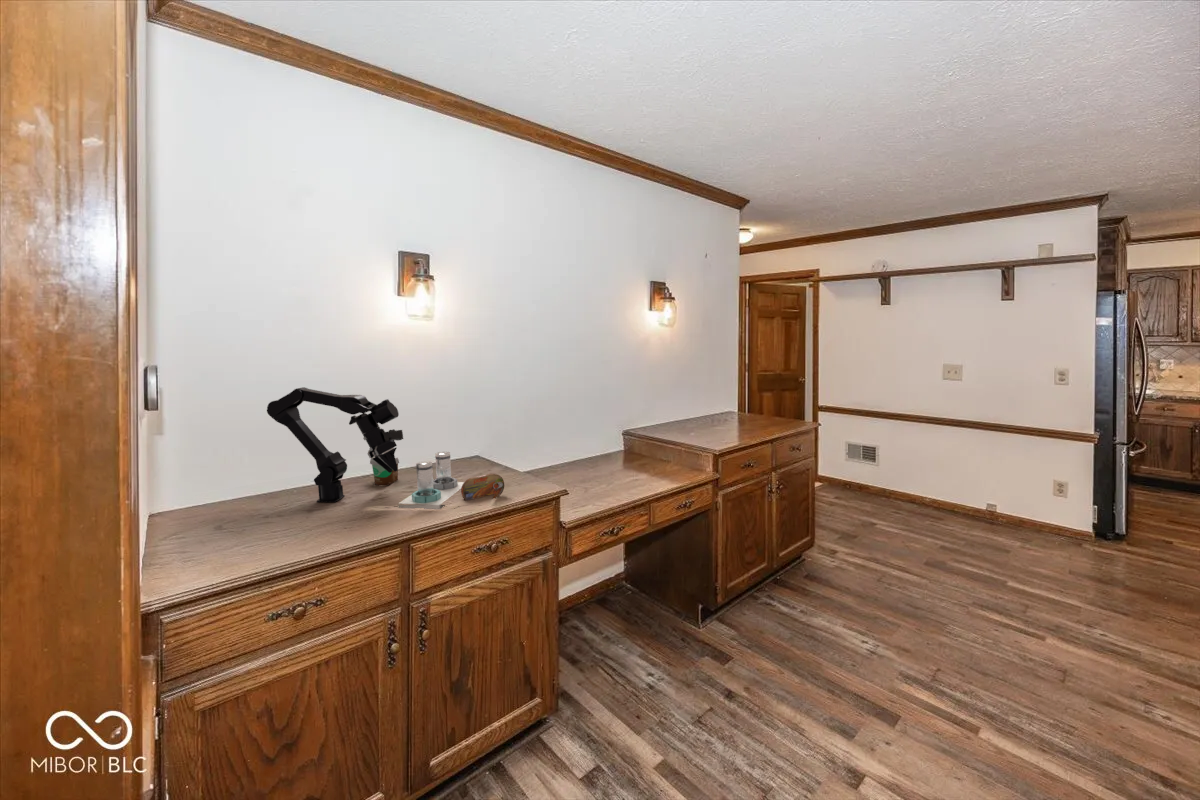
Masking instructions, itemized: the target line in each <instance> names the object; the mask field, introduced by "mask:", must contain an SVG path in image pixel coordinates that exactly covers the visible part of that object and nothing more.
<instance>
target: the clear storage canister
mask: <svg viewBox="0 0 1200 800" xmlns="http://www.w3.org/2000/svg"><path fill="white" fill-rule="evenodd" d="M415 469H416V481H417V483H416V484H417V491H418V496H429V495H434V485H433V480H434V472H433V469H434V468H433V462H432V461H429V460H427V461H418V462H417V463H415Z"/></svg>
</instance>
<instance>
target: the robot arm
mask: <svg viewBox="0 0 1200 800" xmlns="http://www.w3.org/2000/svg"><path fill="white" fill-rule="evenodd" d="M304 402H306V403H307V402H308V403H313V404H318V405H323V406H326V407H327V406H328V407H333V408H336V409H338V410H340V412H343V413H346V414H349V415H351V416H350V420H349V422H348V424H349V425H350V426H351V425H353V424H356V426H357V427H358V429H359V430H360V433H361V434H362V436H363V440H364V441H365V442H366V443H367V445H368V447H369V449H368V450H367V456H368V458H369V459H371V458H372V457H374V458H373V459H372V460H373V461H374V462H376V463H377V464H379V465H380V466H381V467H383V468H384V469H385V470H386V471H388V472H389V473H391V472H392V470H394V471H397V470H398V471H399V467H398V468H397V464H396V460H395V458H396V456H395V453H396V451H397V446H398V445H397V443H396V441H402V440H404V434H403V429H398V430H397V429H396V430H395V429H388V431H385V430H384V428H381V426H380V425H385V424H386V423H388V422H390V421H392V420H394V419H397V418H398V417H399V410H398V408H397V406H396V405H394V403H392V402H391V401H390V400H389V398H388V399H384V400H382V401H381V402H380V403H377V404H375V403H374V402H372V401H370V400H368V399H367V397H366V396H365V395H362V394H338V393H332V392H326V391H322V390H316V389H311V388H308V387H299V388H294V389H293V390H292V391H291V392H289V393H287V394H286V395H284V396H282V397H281V398H279V399H277V400H272V401H269V403H268V405H267V407H266V413H267V414H268V415H269V416H270V418H272V419H273V420H274V421H275V422H276V423H279V424H280V425H283V426H284V427H286V428H287V429H288V430H289V431H290V432H291V433H292V435H293V436H294V437H295V438H296V439H297V440H298V441H299V443H300V444H301V445H302V446H303V447H304V448H305V450H306V451H308V453H309V454H310V455H311V456H312V457H313V459H314V460H315V463H316V467H317V470H318V472H319V473H318V474H317V476H316V477H315V478H314V479H313V482H314V484H315V486H317V488H318V491H317V492H318V499H317V500H316V503H336V501H337V502H338V501H340V500H341V499H343V498H344V497H345V495H344V489H343V484H342V482H341V480H342V479H343V478H344V474H345V473H346V472H347V469H348V464H347V462H346V461H347V459H345V458H344V457H343V456H342V455H341V453H340V452H339V451H335V452H333V451H330V450H329V449H328V448H327V447H326V446H325V445H324V443H322V441H321V440H320V438H318V437H317V436H316V434H315V433H314V432H313V431H312V430H311V428H309V427H308V425H307V424H306V423H305V422H304V420H303V419H302V418H301V414H300V410H299V409H298V407H299V406H300V405H302V403H304ZM369 412H370V413H369ZM356 414H357V415H356ZM358 414H359V415H358ZM352 415H353V416H352ZM379 424H380V425H379ZM342 497H343V498H342ZM339 499H340V500H339Z"/></svg>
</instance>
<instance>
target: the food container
mask: <svg viewBox="0 0 1200 800" xmlns="http://www.w3.org/2000/svg"><path fill="white" fill-rule="evenodd" d="M373 458H374V457H372V458H369V459H370V460H369V464H370V465H371V468H372V474H373V479H374V484H375V485H376V484H377V485H376V486H379V485H388V486H391V485H392V484H394V483H396V482H397V481H398V480H399V477H398V476H399V464H400V460H399V457H395V460H396V464H397V468H398V470H397V471H394V470H392V472H391V473H389V472H388V471H386V470H385V469H384V468H383V467H381V466H380V465H379V464H377V463H376V462H374V461H373V460H372V459H373Z"/></svg>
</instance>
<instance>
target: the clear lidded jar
mask: <svg viewBox="0 0 1200 800" xmlns="http://www.w3.org/2000/svg"><path fill="white" fill-rule="evenodd" d="M451 462H452V461H451V452H449V451H439V452H438V451H437V452H436V453H435V474H436V479H437V483H442V484H444V483H450V482H451V477H452V467H451V466H452V464H451Z"/></svg>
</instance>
